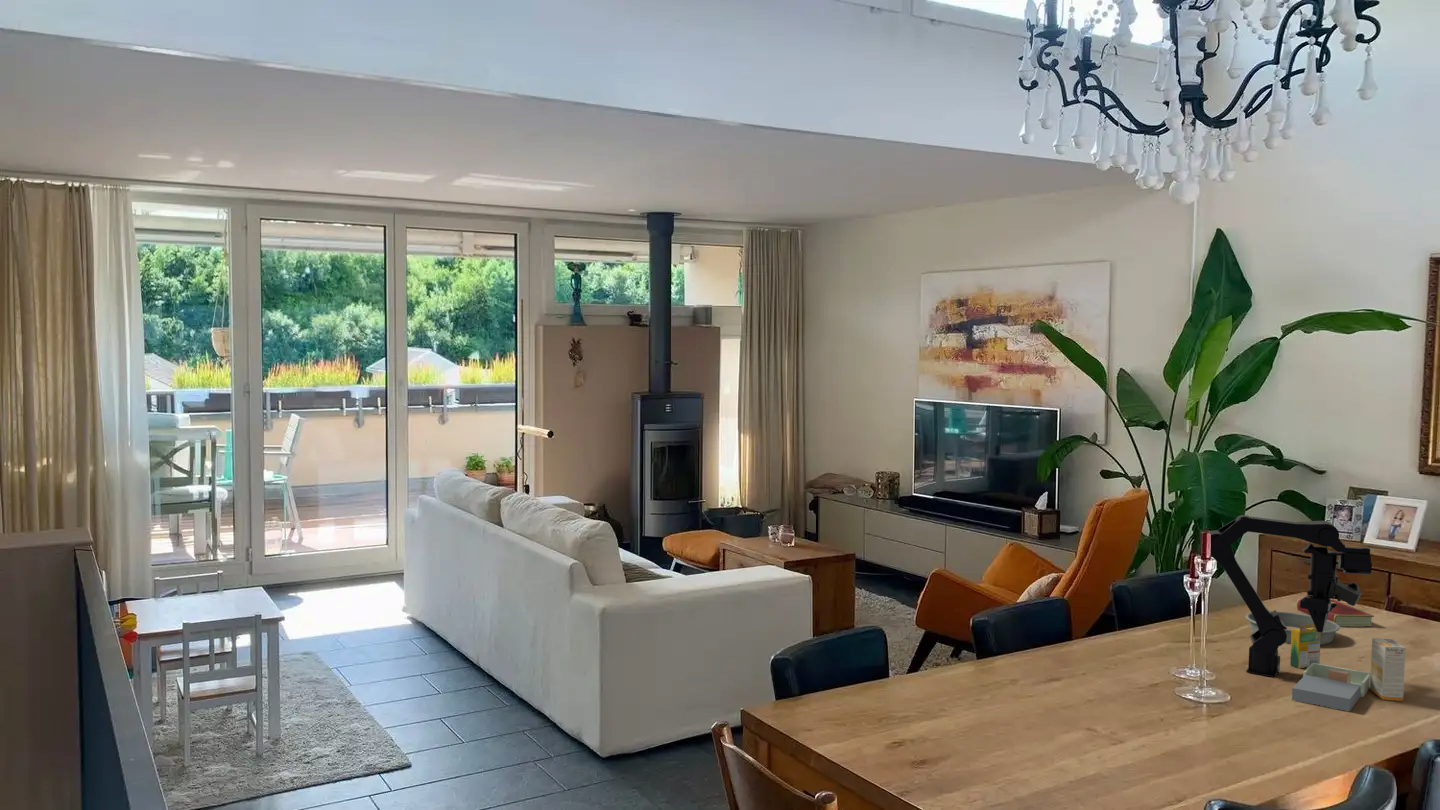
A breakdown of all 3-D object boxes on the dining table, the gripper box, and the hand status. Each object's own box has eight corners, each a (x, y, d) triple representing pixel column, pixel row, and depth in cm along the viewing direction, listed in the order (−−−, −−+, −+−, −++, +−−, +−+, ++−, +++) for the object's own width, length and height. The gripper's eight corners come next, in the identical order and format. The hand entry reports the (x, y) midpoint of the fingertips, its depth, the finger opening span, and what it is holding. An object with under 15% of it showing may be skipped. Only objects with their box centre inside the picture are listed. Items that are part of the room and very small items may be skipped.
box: (1302, 686, 269) (1302, 672, 269) (1311, 676, 277) (1312, 662, 277) (1363, 697, 260) (1363, 683, 260) (1371, 687, 269) (1371, 673, 269)
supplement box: (1404, 701, 258) (1407, 647, 257) (1382, 700, 259) (1384, 646, 258) (1390, 691, 266) (1393, 638, 265) (1368, 689, 267) (1371, 637, 266)
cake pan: (1357, 648, 306) (1358, 632, 306) (1270, 646, 306) (1270, 630, 306) (1311, 625, 330) (1311, 611, 330) (1230, 624, 331) (1230, 609, 330)
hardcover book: (1334, 627, 329) (1334, 614, 328) (1296, 611, 350) (1296, 598, 349) (1373, 628, 329) (1373, 614, 329) (1333, 611, 350) (1333, 598, 350)
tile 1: (1328, 670, 267) (1330, 668, 269) (1328, 686, 268) (1330, 684, 269) (1347, 674, 265) (1349, 672, 266) (1346, 690, 265) (1348, 688, 266)
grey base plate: (1291, 700, 258) (1292, 688, 258) (1304, 686, 268) (1305, 674, 268) (1349, 711, 250) (1349, 699, 250) (1360, 697, 261) (1360, 684, 261)
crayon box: (1310, 663, 289) (1312, 620, 288) (1320, 666, 286) (1322, 623, 286) (1289, 665, 287) (1291, 622, 286) (1298, 668, 284) (1300, 625, 283)
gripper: (1352, 581, 262) (1349, 645, 262) (1366, 570, 276) (1363, 630, 277) (1301, 575, 269) (1298, 637, 270) (1317, 564, 283) (1314, 623, 284)
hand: (1320, 632), depth 275 cm, fingers closed
